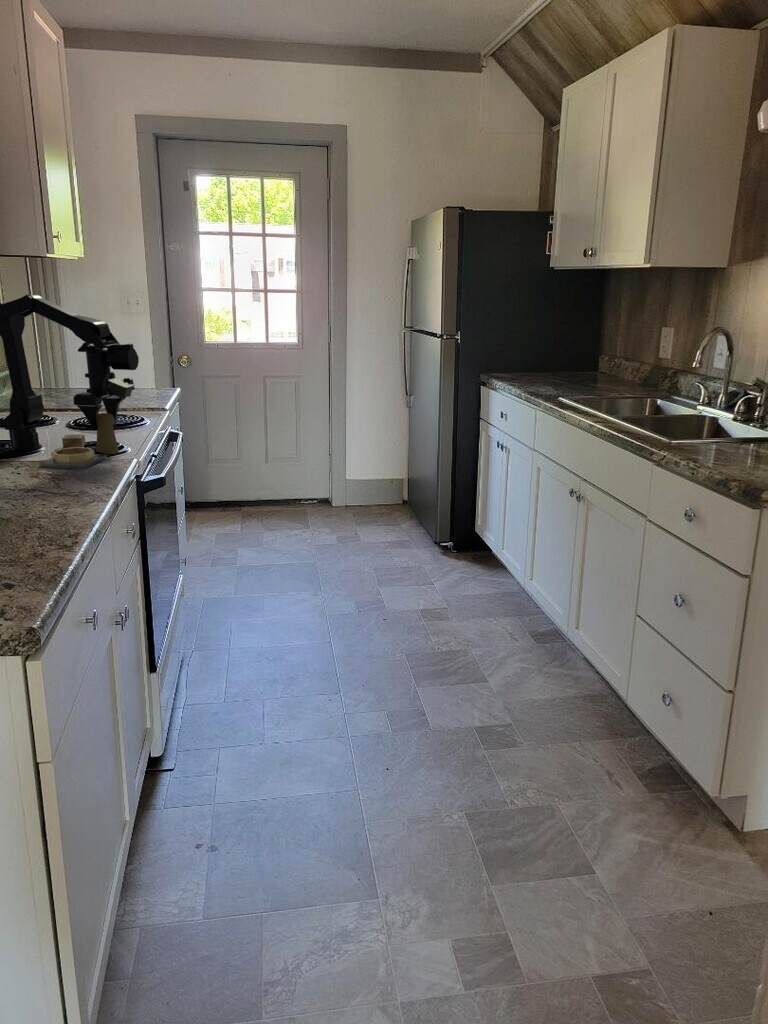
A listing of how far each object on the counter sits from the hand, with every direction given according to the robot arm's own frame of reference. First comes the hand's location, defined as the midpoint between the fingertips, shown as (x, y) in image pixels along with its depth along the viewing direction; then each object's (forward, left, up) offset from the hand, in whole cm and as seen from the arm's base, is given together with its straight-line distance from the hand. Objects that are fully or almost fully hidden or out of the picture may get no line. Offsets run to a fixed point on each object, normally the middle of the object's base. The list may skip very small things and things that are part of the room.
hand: (104, 426), depth 208 cm
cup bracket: (-3, -12, -7) cm, 14 cm away
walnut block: (-11, +2, -8) cm, 13 cm away
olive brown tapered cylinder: (0, 0, -8) cm, 8 cm away
